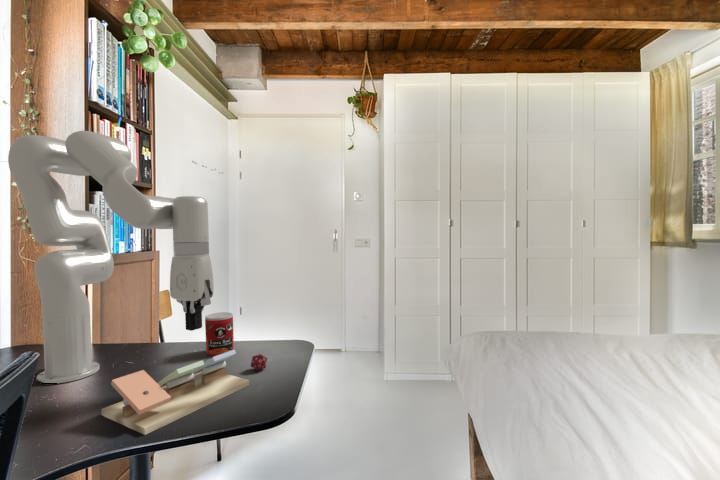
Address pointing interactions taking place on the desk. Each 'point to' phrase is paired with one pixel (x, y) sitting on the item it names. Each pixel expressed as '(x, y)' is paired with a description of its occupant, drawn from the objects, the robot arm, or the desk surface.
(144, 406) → the tile
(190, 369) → the tile
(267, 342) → the desk surface
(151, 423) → the board
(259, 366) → the dice
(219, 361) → the tile
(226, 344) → the canned food
